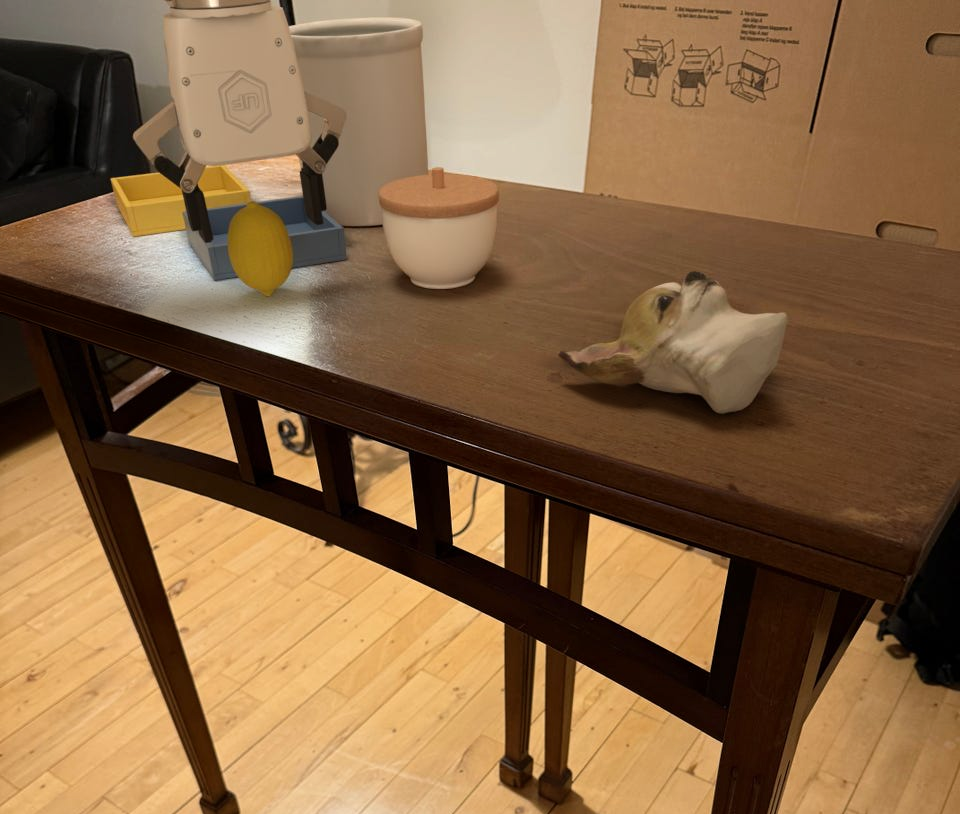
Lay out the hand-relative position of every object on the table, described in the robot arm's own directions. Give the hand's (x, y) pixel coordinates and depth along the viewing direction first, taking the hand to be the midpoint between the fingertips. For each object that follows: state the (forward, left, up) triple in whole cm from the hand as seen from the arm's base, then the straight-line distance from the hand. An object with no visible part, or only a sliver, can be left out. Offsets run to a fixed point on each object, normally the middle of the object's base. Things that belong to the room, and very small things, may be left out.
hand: (261, 229), depth 79 cm
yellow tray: (-2, +31, -6) cm, 32 cm away
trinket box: (+16, -3, -6) cm, 17 cm away
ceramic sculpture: (+22, -33, -6) cm, 40 cm away
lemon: (0, 0, -6) cm, 6 cm away
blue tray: (+3, +13, -6) cm, 15 cm away
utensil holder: (+17, +22, -6) cm, 28 cm away
